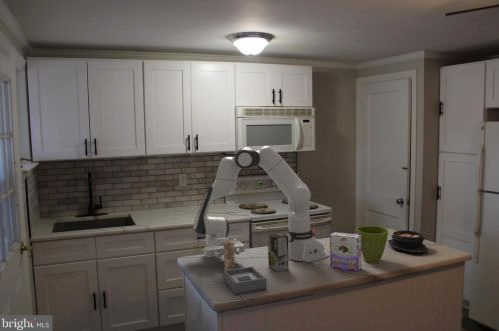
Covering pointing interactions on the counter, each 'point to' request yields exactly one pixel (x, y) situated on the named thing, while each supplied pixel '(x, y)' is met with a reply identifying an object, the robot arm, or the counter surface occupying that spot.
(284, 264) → the coffee box
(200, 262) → the counter surface
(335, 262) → the candy box
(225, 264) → the peg
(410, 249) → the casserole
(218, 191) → the robot arm
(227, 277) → the box
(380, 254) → the flower pot
